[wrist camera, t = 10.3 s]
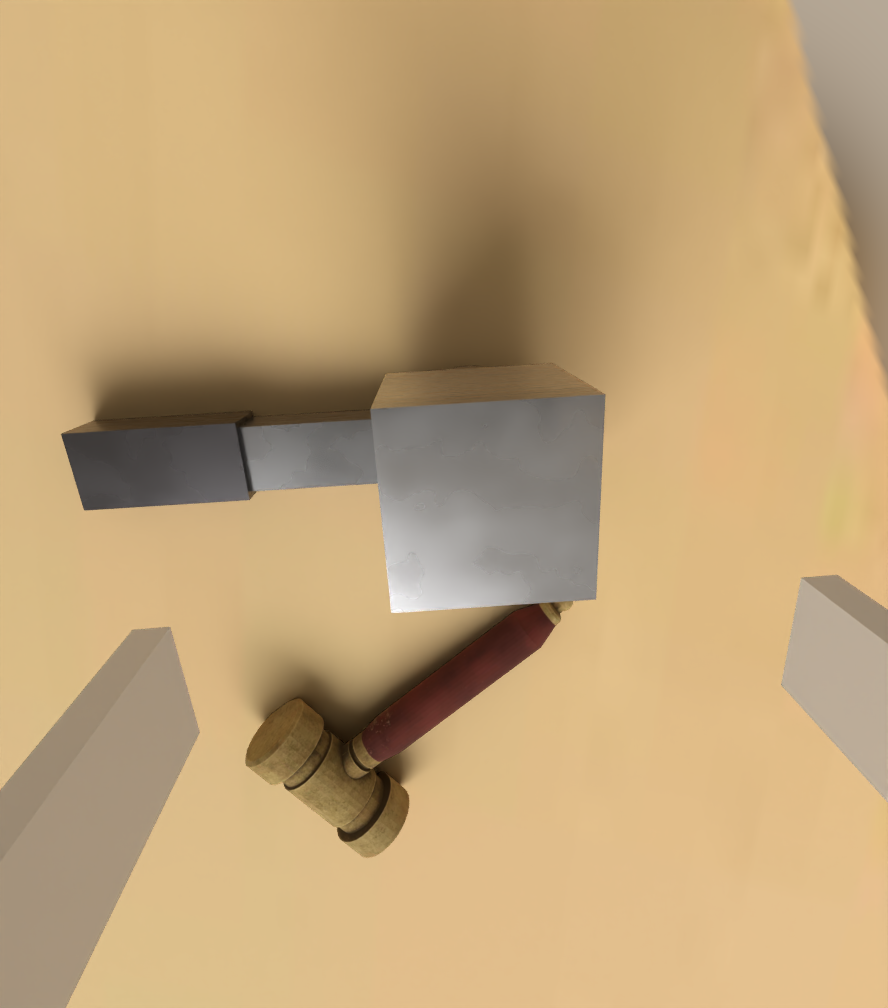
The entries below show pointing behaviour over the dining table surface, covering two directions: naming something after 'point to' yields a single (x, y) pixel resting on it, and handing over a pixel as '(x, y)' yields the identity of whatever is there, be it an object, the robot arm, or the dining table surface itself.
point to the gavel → (386, 735)
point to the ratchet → (217, 456)
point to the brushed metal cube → (489, 486)
